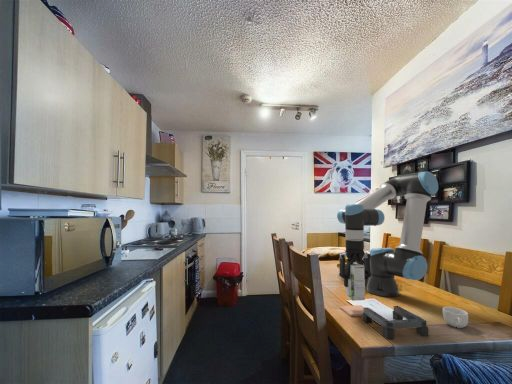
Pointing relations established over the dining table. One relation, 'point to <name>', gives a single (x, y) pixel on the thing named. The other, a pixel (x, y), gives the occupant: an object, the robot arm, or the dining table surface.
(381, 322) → the grey stand frame
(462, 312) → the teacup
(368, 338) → the dining table surface
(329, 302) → the dining table surface
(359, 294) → the syrup box
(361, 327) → the dining table surface
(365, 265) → the robot arm
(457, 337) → the dining table surface
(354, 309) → the terracotta tile
